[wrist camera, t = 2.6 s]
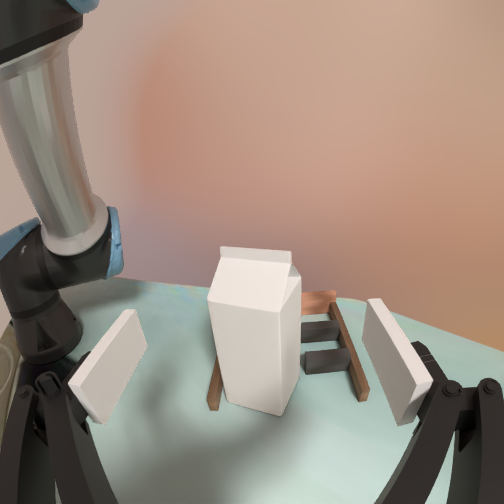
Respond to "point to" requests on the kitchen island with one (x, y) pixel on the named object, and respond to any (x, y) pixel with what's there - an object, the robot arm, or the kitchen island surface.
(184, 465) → the kitchen island surface
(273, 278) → the milk carton
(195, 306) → the kitchen island surface
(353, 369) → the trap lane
